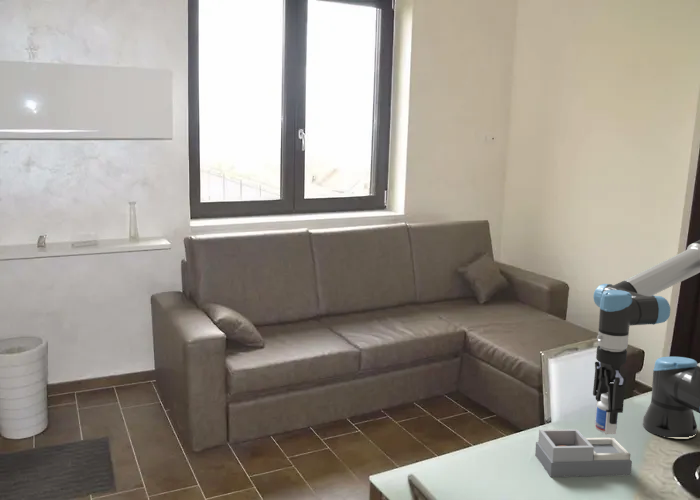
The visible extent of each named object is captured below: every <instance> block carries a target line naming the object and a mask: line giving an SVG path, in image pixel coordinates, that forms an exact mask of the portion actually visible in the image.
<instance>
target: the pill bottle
mask: <svg viewBox="0 0 700 500" xmlns="http://www.w3.org/2000/svg"><path fill="white" fill-rule="evenodd" d="M596 404H597V403H596ZM606 410H609V408H608V393H603V394H601V401H599V402H598V404H597V413H596V412H595V416H596V424H595V427H594V428H595V429H596V430H597V431H599V432H601V433H604V434H605V424H606ZM618 415H619V413H618V414H617V418H618ZM617 426H618V424H617V425H616V429H617V428H618V427H617Z"/></svg>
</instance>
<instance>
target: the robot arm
mask: <svg viewBox="0 0 700 500" xmlns="http://www.w3.org/2000/svg"><path fill="white" fill-rule="evenodd" d="M699 273H700V239H699V240H697V241H694V242H693V243H691V244H689V245H688V246H687V248H686V250H684V251H681V252H680V253H678V254H676V255H674V256H672V257H669V258H668V259H666V260H663V261H661V262H659V263H657V264H655V265H653V266H651V267H649V268H647V269H645V270H642V271H640V272H638V273H636V274H635V275H633V276H631V277H628V278H626V279H624V280H623V281H619V282H618V283H616V284H615V283H614V284H610V283H602V284H599V285H598V286H597V287H596V288H595V290H594V291H593V302H594V304H595V305H596V306H597V307H598V308H599V318H598V319H599V320H598V333H597V335H596V339H597V345H598V346H597V347H596V355H595V356H596V357H595V359H596V361H594V377H593V378H594V381H593V390H592V395H593V396H594V397H595V401H596V404H595V406H596V407H595V414H596V413H597V404H598V402H599V401H601V394H603V393H608V408H609V410H606V424H605V433H604V434H605V435H616V434H617V428H616V425H617V426H618V417H617V414H618V415H619V414H621V413H623V412H624V404H625V403H624V401H625V386H626V383H627V378H626V377H625V376H624V377H623V376H622V375H621V374H622V371H621V367H622V366H623V365H625V364H626V363H627V357H628V356H627V355H628V350H627V349H628V344H629V335H630V334H629V333H630V332H629V331H630V326H631V327H632V326H646V325H657V324H662V323H665V322H667V320H669V318H670V315H671V306H670V303H669V301H668V300H667V299H666V297H663V296H660V295H657V294H659V293H661V292H663V291H665V290H667V289H669V288H672V287H673V286H675V285H677V284H679V283H681V282H683V281H686V280H687V279H689V278H691V277H694V276H695V275H698V274H699ZM652 370H653V371H652V375H653V376H652V383H651V386H652V388H651V398H650V399H651V400H650V403H649V406H648V407H647V410H646V412H645V414H644V416H643V419H642V420H643V421H642V426H643V428H644V429H645V430H646V431H648V432H650V433H651V434H653V433H654V434H653V435H655V434H657V435H656V436H658V435H661V436H665V437H689V436H693V435H695V434H696V433H697V434H698V425H697V421H696V417H695V414H694V412H697V413H699V414H700V362H699V363H698V362H697V360H695V359H693V358H689V357H685V356H662V357H658V358H657V359H656V360H655V362H654V367H653V369H652ZM594 424H595V425H596V415H595V419H594ZM661 436H660V437H661ZM665 437H664V438H665Z"/></svg>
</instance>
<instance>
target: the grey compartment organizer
mask: <svg viewBox="0 0 700 500" xmlns="http://www.w3.org/2000/svg"><path fill="white" fill-rule="evenodd" d="M559 445H566V446H559ZM534 454H535V457H536V458H537V460H538V461H539V463H540V464H541V466H542V467H543V468H544V470H545V471H546V472H547V474H548V475H549V477H551V478H553V477H554V478H556V477H557V478H558V477H559V478H560V477H561V478H562V477H563V478H564V477H604V476H605V477H609V476H610V477H611V476H612V477H613V476H632V464H633V462H632V460H631V456H632V455H631V453H630V452H628V450H627V449H626V448H625V447H624V446H623V445H621V443H619V441H617V440H616V438H614V437H585V436H584V435H583V434H582V433H581V431H580V430H579V429H578V428H568V429H567V428H566V429H565V428H563V429H560V428H559V429H552V428H551V429H538V441H536V442H535V453H534Z"/></svg>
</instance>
